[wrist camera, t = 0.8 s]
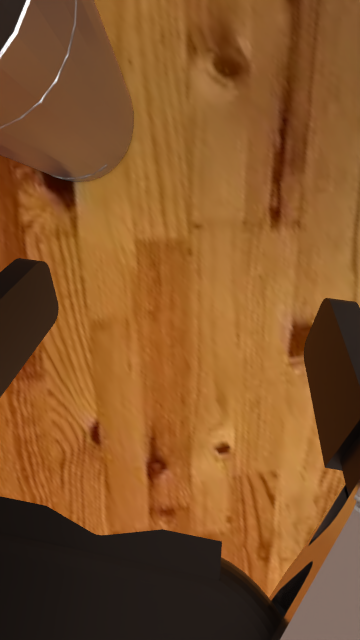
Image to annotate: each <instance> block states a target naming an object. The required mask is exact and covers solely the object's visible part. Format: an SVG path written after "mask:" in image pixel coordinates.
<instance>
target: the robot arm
mask: <svg viewBox="0 0 360 640" xmlns="http://www.w3.org/2000/svg"><path fill="white" fill-rule="evenodd" d="M132 132H133V108H132V102H131V98H130V95H129V92H128V90H127V87H126V84H125V82H124V79H123V76H122V73H121V71H120V68H119V65H118V62H117V60H116V57H115V54H114V52H113V49H112V47H111V44H110V41H109V39H108V36H107V33H106V31H105V28H104V26H103V23H102V20H101V18H100V15H99V12H98V10H97V7H96V5H95V2H94V0H0V155H2V156H4V157H7V158H10V159H12V160H15V161H17V162H20V163H22V164H25V165H27V166H30V167H32V168H35V169H38V170H40V171H43V172H45V173H48V174H50V175H51V176H54V177H57V178H61V179H64V180H68V181H74V182H82V181H91V180H94V179H97V178H100V177H102V176H104V175H105V174H107V173H109V172H110V171H111V170H112V169H113V168H114V167H115V166H117V165H118V164H119V162H120V161H121V159H122V158H123V156H124V155H125V153H126V151H127V149H128V146H129V144H130V141H131V137H132ZM57 316H58V301H57V297H56V293H55V289H54V285H53V281H52V277H51V273H50V269H49V267H48V265H47V264H46V263H45V262H43V261H36V260H28V259H21V258H19V259H16V260H14V261H13V262H12V263H11V264H10V265H8V266H7V267H6V268H5V269H4V270H3V271H1V272H0V397H1V396H2V394H3V393H4V392H5V390H6V389H7V388H8V386H9V385H10V383H11V382H12V381H13V379H14V378H15V377H16V375H17V374H18V372H19V371H20V370H21V368H22V367H23V366H24V364H25V363H26V361H27V360H28V359H29V357H30V356H31V355H32V353H33V352H34V351H35V349H36V348H37V346H38V345H39V344H40V342H41V341H42V340H43V338H44V337H45V335H46V334H47V333H48V331H49V330H50V329H51V327H52V326H53V324H54V323H55V321H56V319H57ZM304 362H305V367H306V372H307V377H308V383H309V388H310V393H311V398H312V403H313V408H314V414H315V419H316V424H317V429H318V434H319V440H320V445H321V450H322V455H323V460H324V465H325V468H331V469H336V470H342V471H343V474H344V479H345V484H344V485H343V486H342V487H341V489H340V490H339V492H338V493H337V495H336V497H335V498H334V500H333V501H332V503H331V505H330V506H329V508H328V509H327V511H326V513H325V514H324V516H323V517H322V519H321V521H320V522H319V524H318V525H317V527H316V529H315V530H314V532H313V533H312V535H311V537H310V538H309V540H308V541H307V543H306V545H305V546H304V548H303V549H302V551H301V552H300V554H299V555H298V556H297V558H296V559H295V560H294V562H293V563H292V564H291V566H290V567H289V568H288V570H287V571H286V573H285V574H284V576H283V577H282V579H281V580H280V582H279V583H278V585H277V586H276V588H275V589H274V591H273V593H272V594H271V596H270V597H269V598H268V597H267V595H266V594H265V593H264V592H263V591H262V590H261V588H260V587H259V586H258V585H257V584H256V583H255V582H254V581H253V580H252V579H251V578H250V577H249V576H248V575H246V574H245V573H244V572H243V571H241V570H240V569H239V568H237V567H236V566H235V565H233V564H232V563H231V562H229V561H227V560H225V559H223V558H222V557H221V547H222V542H221V541H216V540H211V539H207V538H202V537H197V536H192V535H187V534H182V533H177V532H172V531H167V530H153V531H143V532H133V533H123V534H113V535H96V534H94V533H92V532H90V531H88V530H86V529H85V528H83V527H81V526H80V525H78V524H76V523H75V522H73V521H71V520H69V519H68V518H66V517H64V516H63V515H61V514H59V513H58V512H56V511H54V510H52V509H51V508H49V507H47V506H44V505H39V504H35V503H30V502H25V501H20V500H15V499H10V498H5V497H0V640H360V308H359V305H358V304H357V303H356V302H353V301H345V300H338V299H330V298H326V299H324V300H323V302H322V303H321V305H320V308H319V310H318V313H317V315H316V317H315V320H314V322H313V325H312V327H311V329H310V332H309V334H308V337H307V339H306V343H305V348H304Z"/></svg>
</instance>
